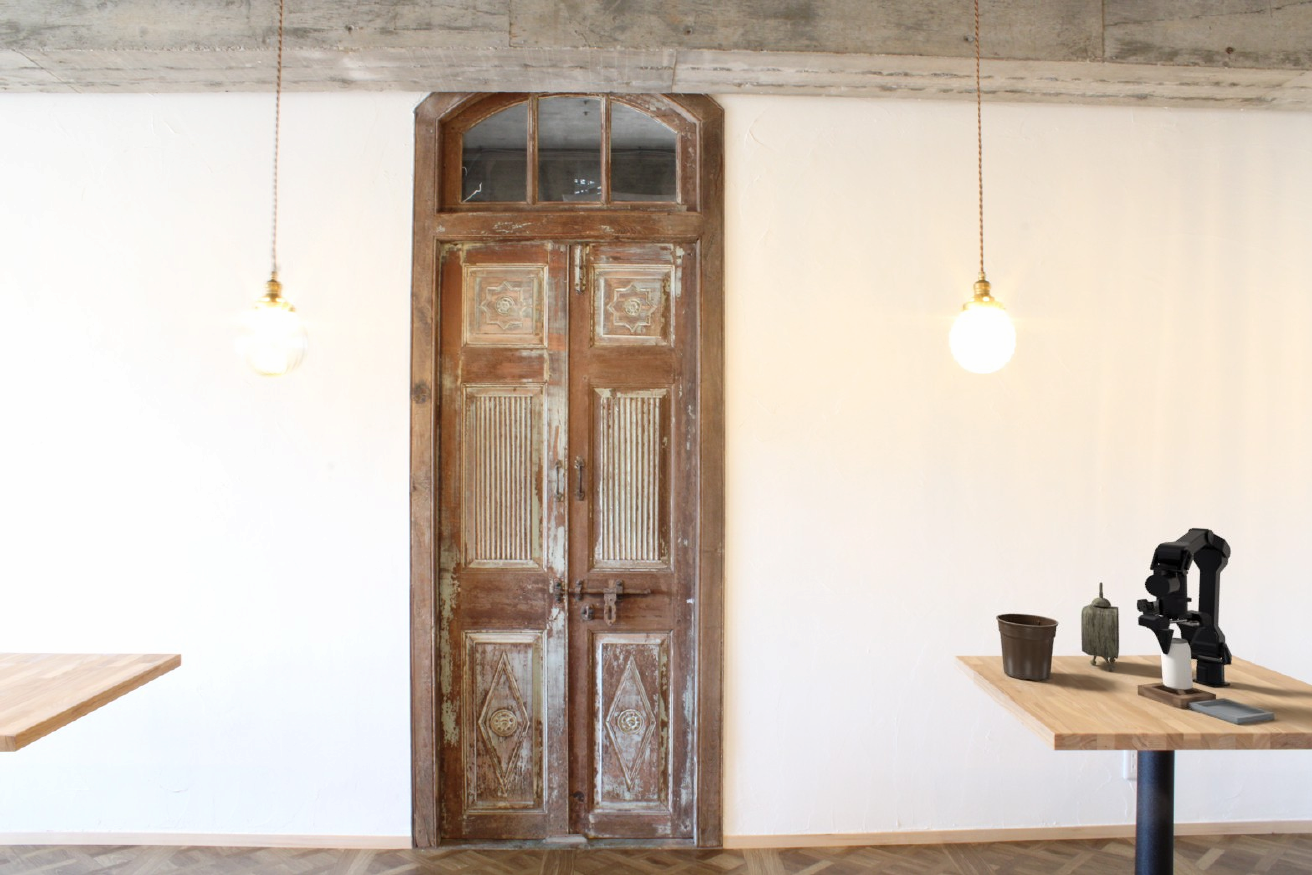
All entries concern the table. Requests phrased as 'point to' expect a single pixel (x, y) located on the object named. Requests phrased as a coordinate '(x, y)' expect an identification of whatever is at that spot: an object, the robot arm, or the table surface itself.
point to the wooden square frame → (1173, 695)
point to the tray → (1231, 711)
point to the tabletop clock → (1100, 630)
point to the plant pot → (1027, 645)
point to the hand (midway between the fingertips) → (1175, 652)
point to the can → (1177, 665)
